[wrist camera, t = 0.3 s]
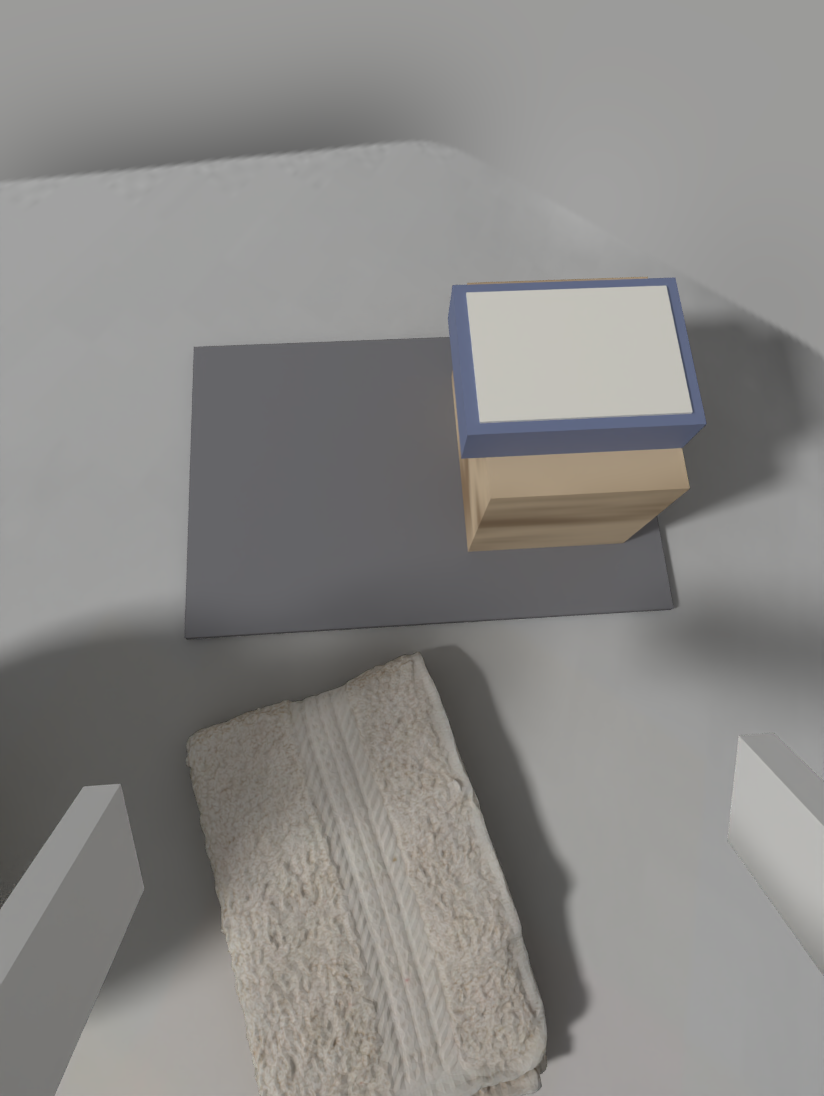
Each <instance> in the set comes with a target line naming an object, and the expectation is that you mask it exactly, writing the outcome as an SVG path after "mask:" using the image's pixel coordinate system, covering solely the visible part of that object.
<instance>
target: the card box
mask: <svg viewBox="0 0 824 1096" xmlns="http://www.w3.org/2000/svg"><path fill="white" fill-rule="evenodd" d="M448 324H449V335H450V345H451V356H452V366H453V377H454V387H455V398H456V408H457V419H458V429H459V440H460V450H461V459H466V458H487V457H507V456H528V455H549V454H570V453H591V452H612V451H633V450H653V449H674V448H683V447H684V446H685V445H686V444H687V443H688V442H689V441H690V440H691V439H692V438H693V437H694V436H695V435H696V434H697V433H698V432H699V431H700V430H701V429H702V428H703V427H704V426H705V425H706V419H705V414H704V410H703V405H702V400H701V396H700V391H699V386H698V382H697V377H696V372H695V368H694V363H693V358H692V354H691V349H690V344H689V340H688V335H687V330H686V326H685V321H684V316H683V312H682V307H681V302H680V298H679V293H678V288H677V284H676V279H675V278H649V279H620V280H591V281H562V282H533V283H504V284H475V285H453V286H452V293H451V300H450V307H449V315H448Z"/></svg>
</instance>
